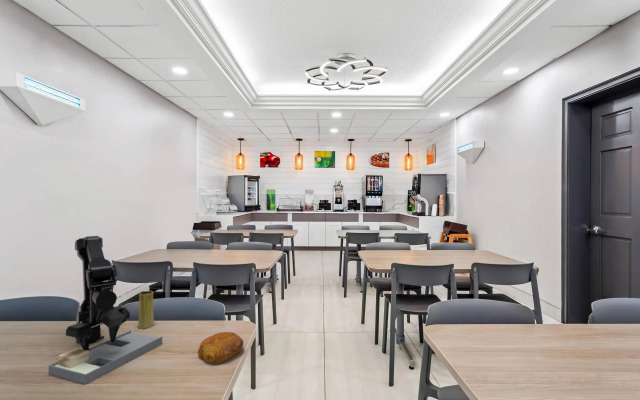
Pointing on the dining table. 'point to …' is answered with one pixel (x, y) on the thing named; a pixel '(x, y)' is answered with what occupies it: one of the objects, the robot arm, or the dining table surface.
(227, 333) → the croissant
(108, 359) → the box
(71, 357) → the beech block
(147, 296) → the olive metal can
